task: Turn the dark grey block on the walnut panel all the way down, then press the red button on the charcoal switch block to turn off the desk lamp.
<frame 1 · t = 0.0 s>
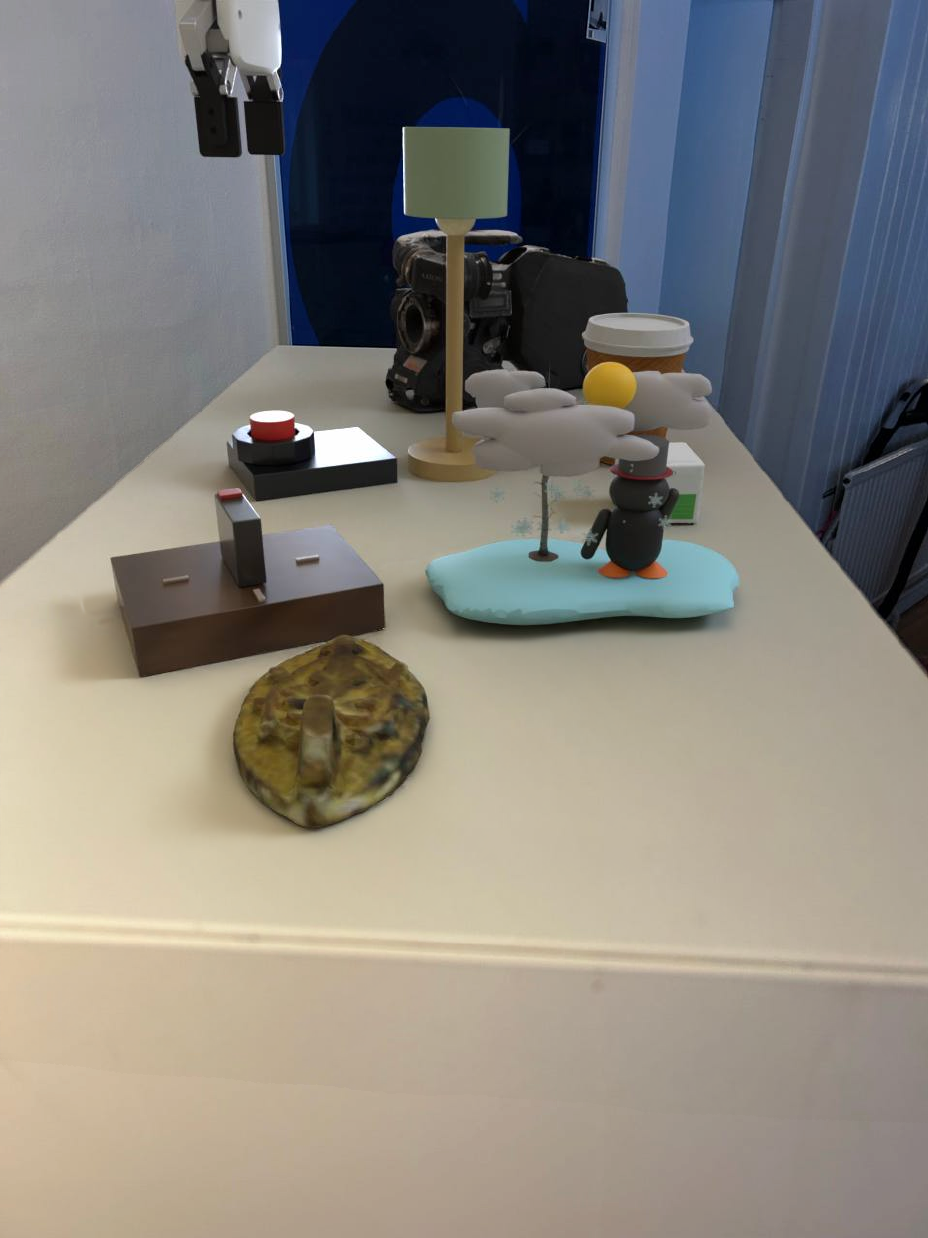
hand: (245, 155, 76), 24 cm above the table, tool pointing down, fingers open, 9 cm apart
disposable coffee cup: (625, 458, 86), on the table
small box: (653, 514, 73), on the table
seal: (334, 734, 46), on the table
movie camera: (499, 398, 105), on the table
penguin figurine: (582, 601, 60), on the table
desk lamp: (453, 467, 82), on the table
dimmer panel: (248, 614, 57), on the table
dark grey block: (239, 535, 54), point 5 cm above the table, hinge at 90.0°
switch block: (311, 474, 80), on the table
lamp switch: (272, 426, 77), point 4 cm above the table, slide at 0.1 cm
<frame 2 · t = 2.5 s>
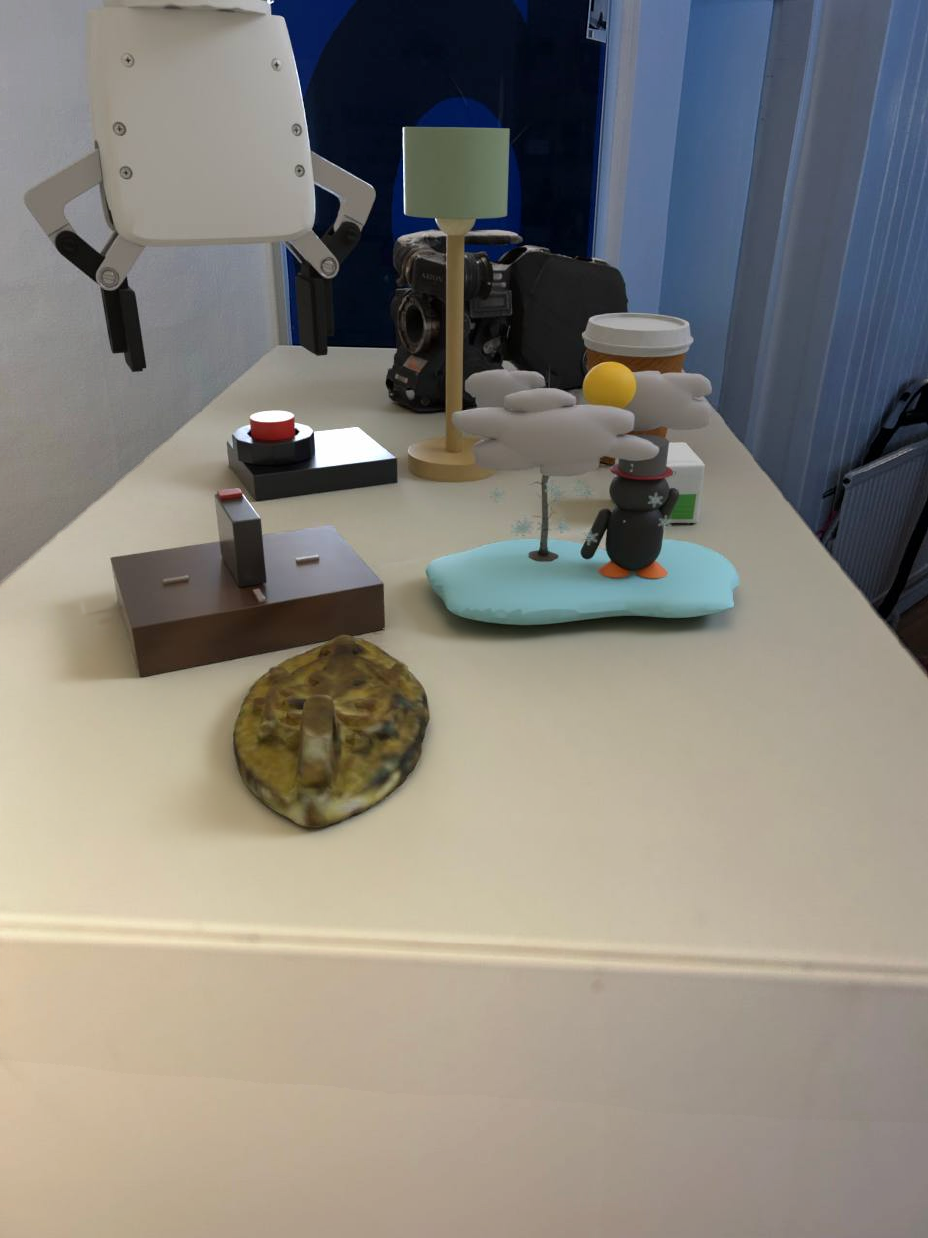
hand: (227, 358, 51), 15 cm above the table, tool pointing down, fingers open, 9 cm apart
nothing on the table moved.
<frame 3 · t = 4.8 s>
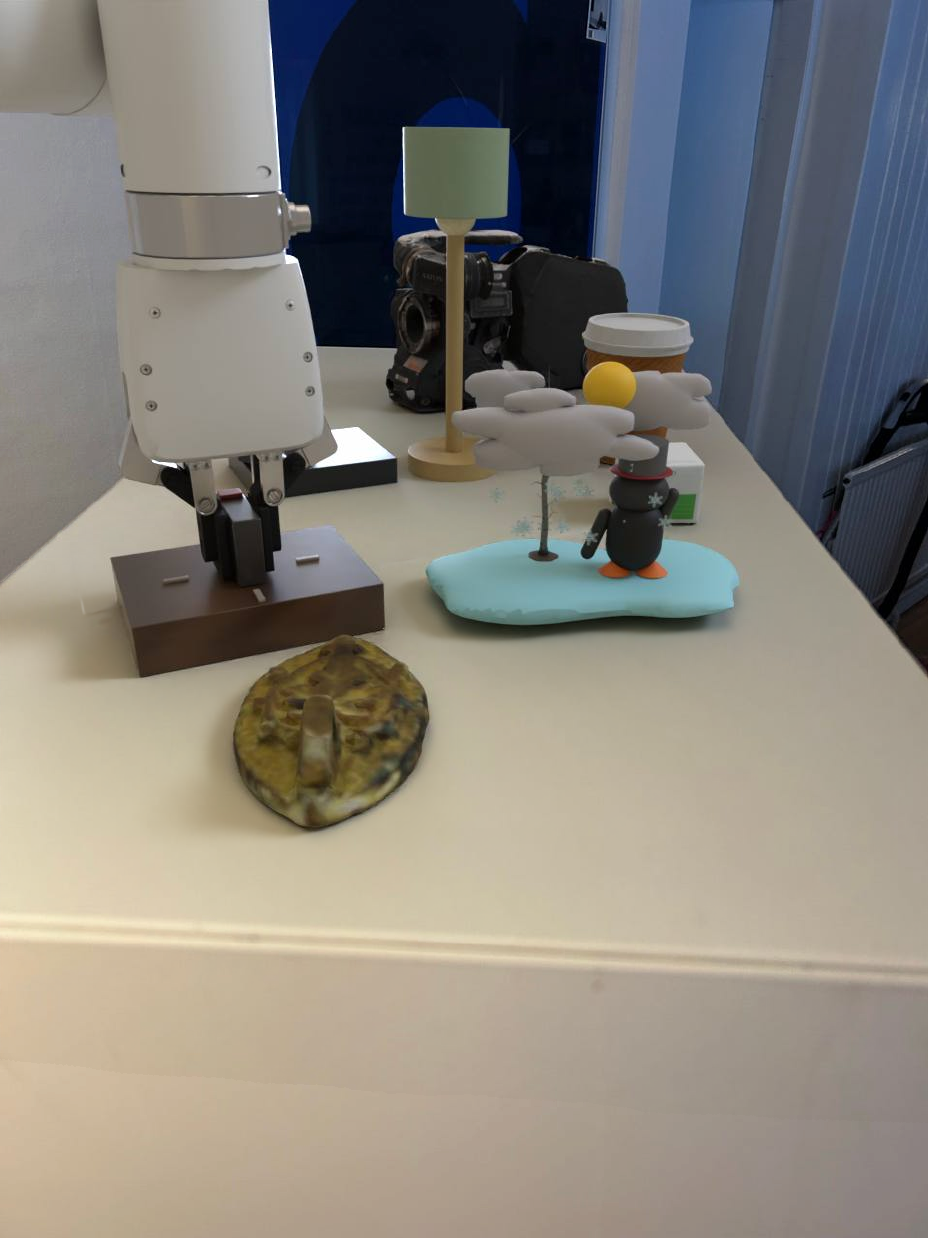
hand: (242, 564, 55), 3 cm above the table, tool pointing down, fingers closed on dark grey block
dark grey block: (239, 535, 54), point 5 cm above the table, hinge at 90.0°, touching gripper
everything else where it was.
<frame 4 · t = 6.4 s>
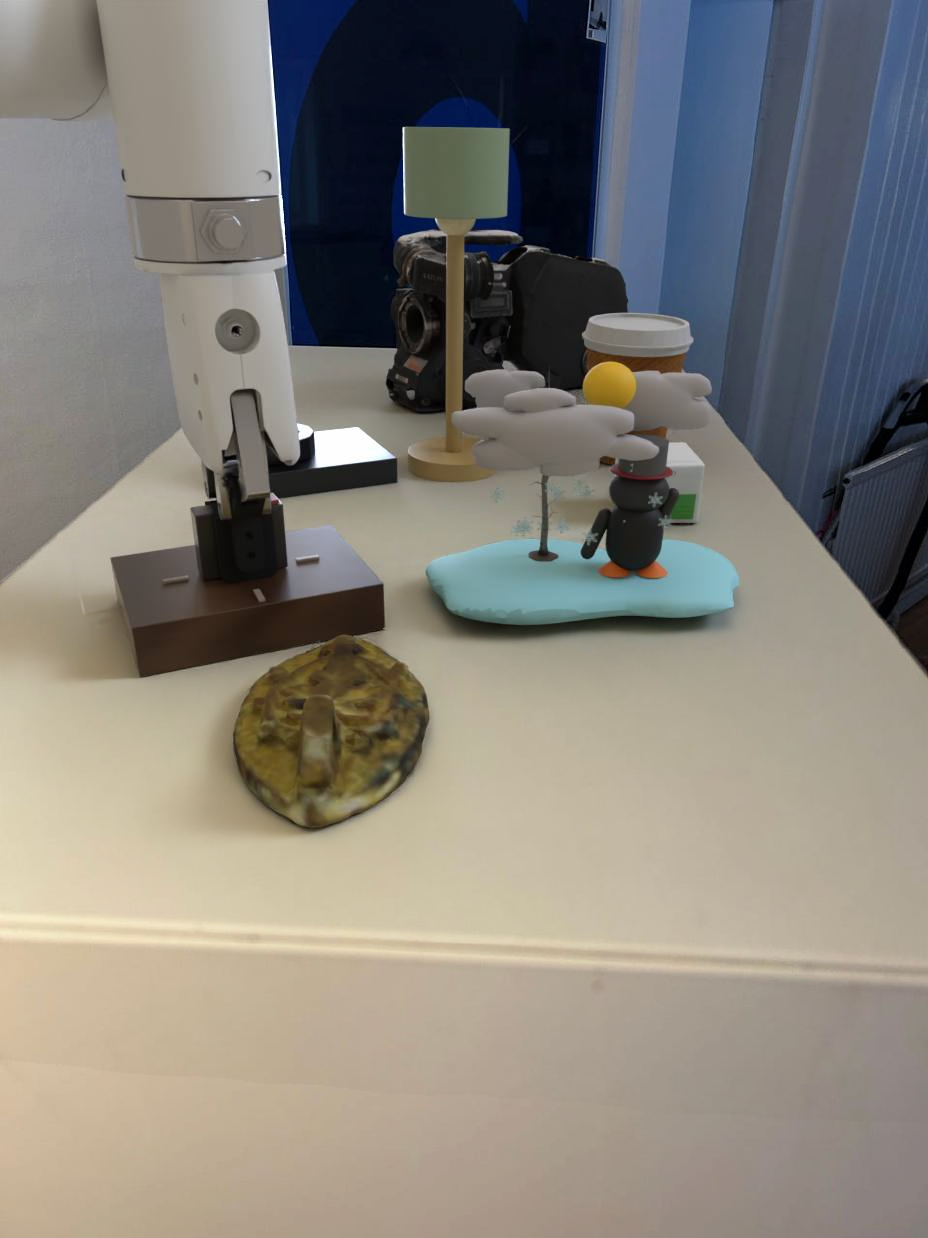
hand: (244, 567, 55), 3 cm above the table, tool pointing down, fingers closed on dimmer panel
dark grey block: (239, 535, 54), point 5 cm above the table, hinge at 0.0°
everything else where it was.
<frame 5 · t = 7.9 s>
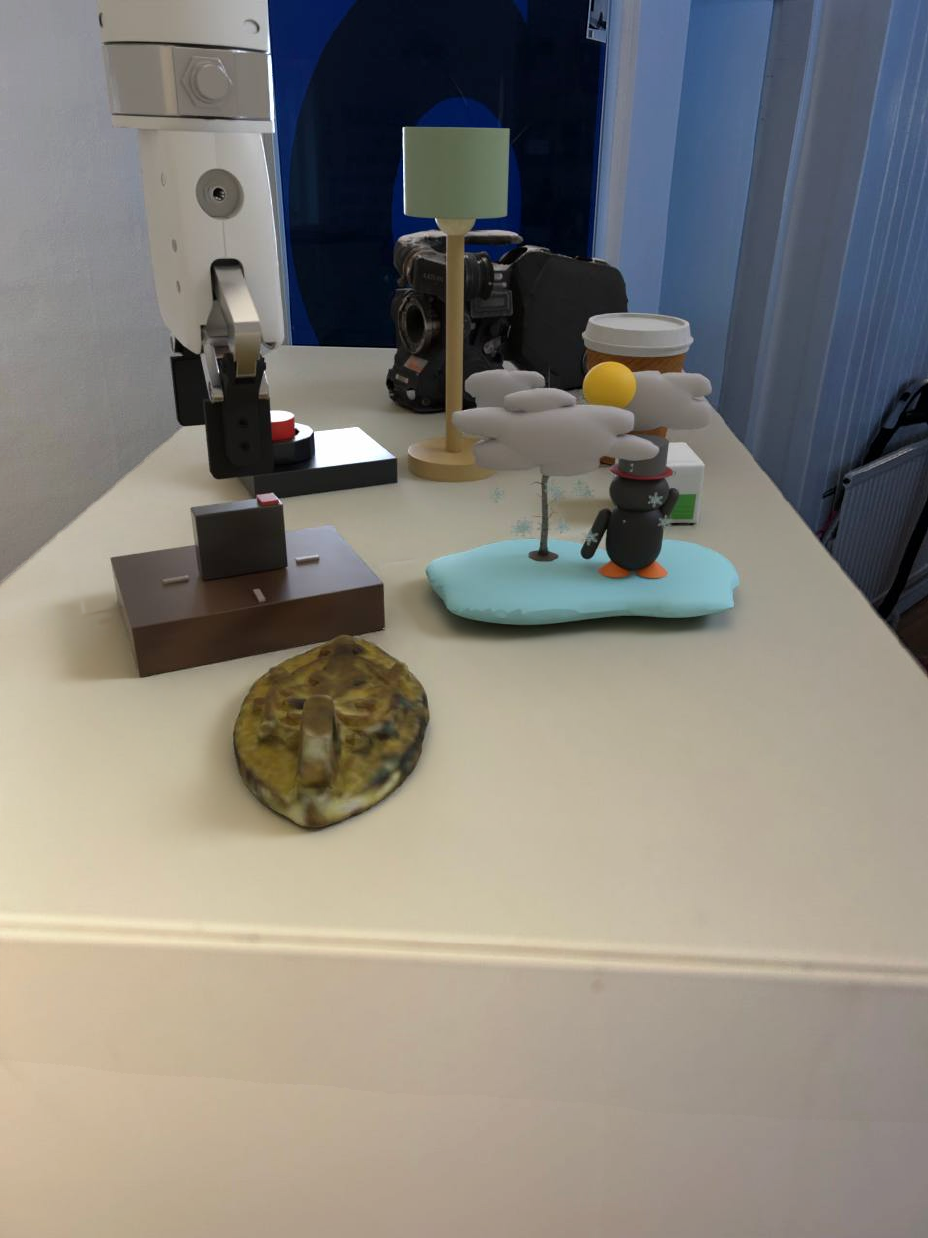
hand: (222, 447, 52), 10 cm above the table, tool pointing down, fingers open, 9 cm apart
nothing on the table moved.
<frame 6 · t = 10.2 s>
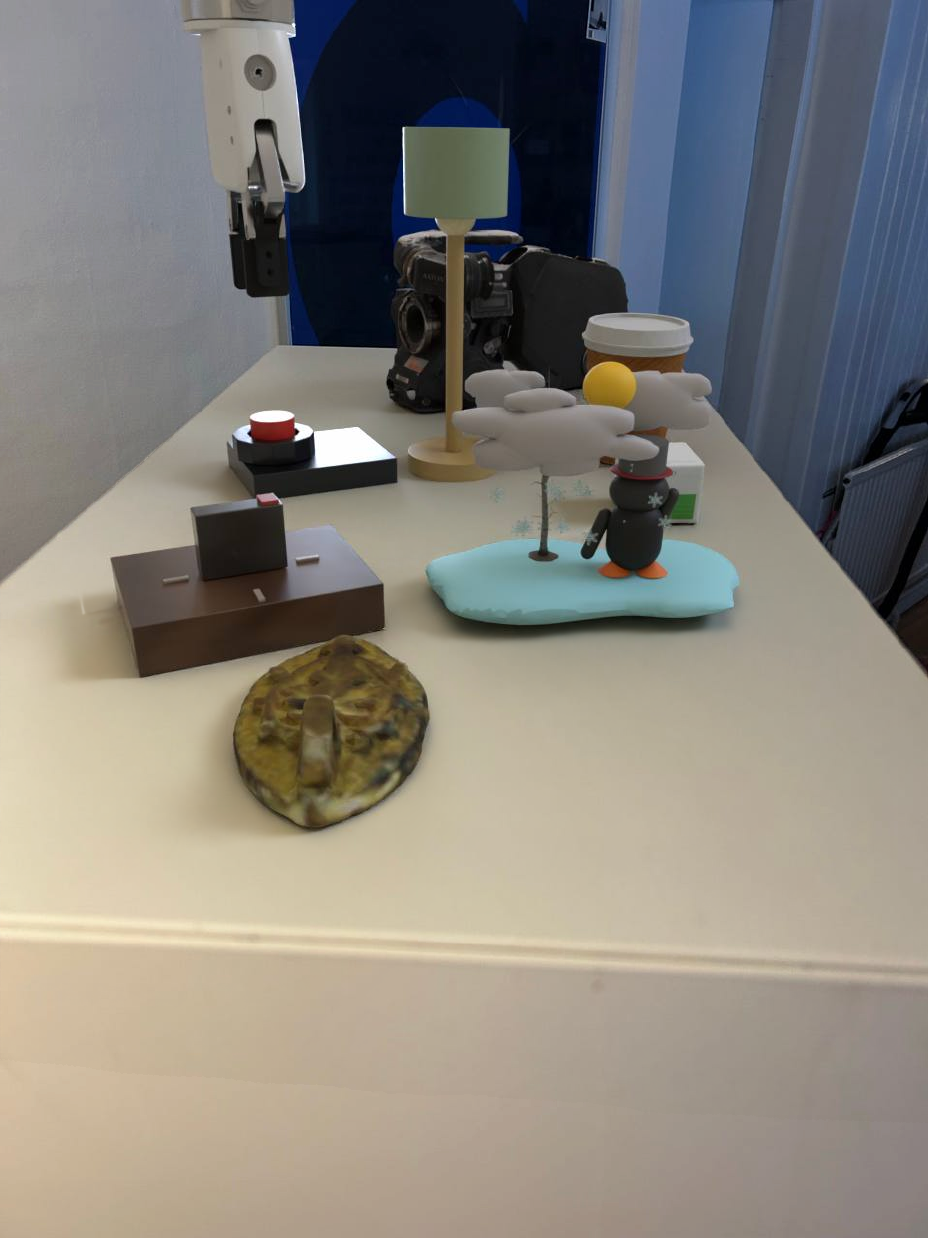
hand: (261, 289, 72), 15 cm above the table, tool pointing down, fingers open, 3 cm apart
nothing on the table moved.
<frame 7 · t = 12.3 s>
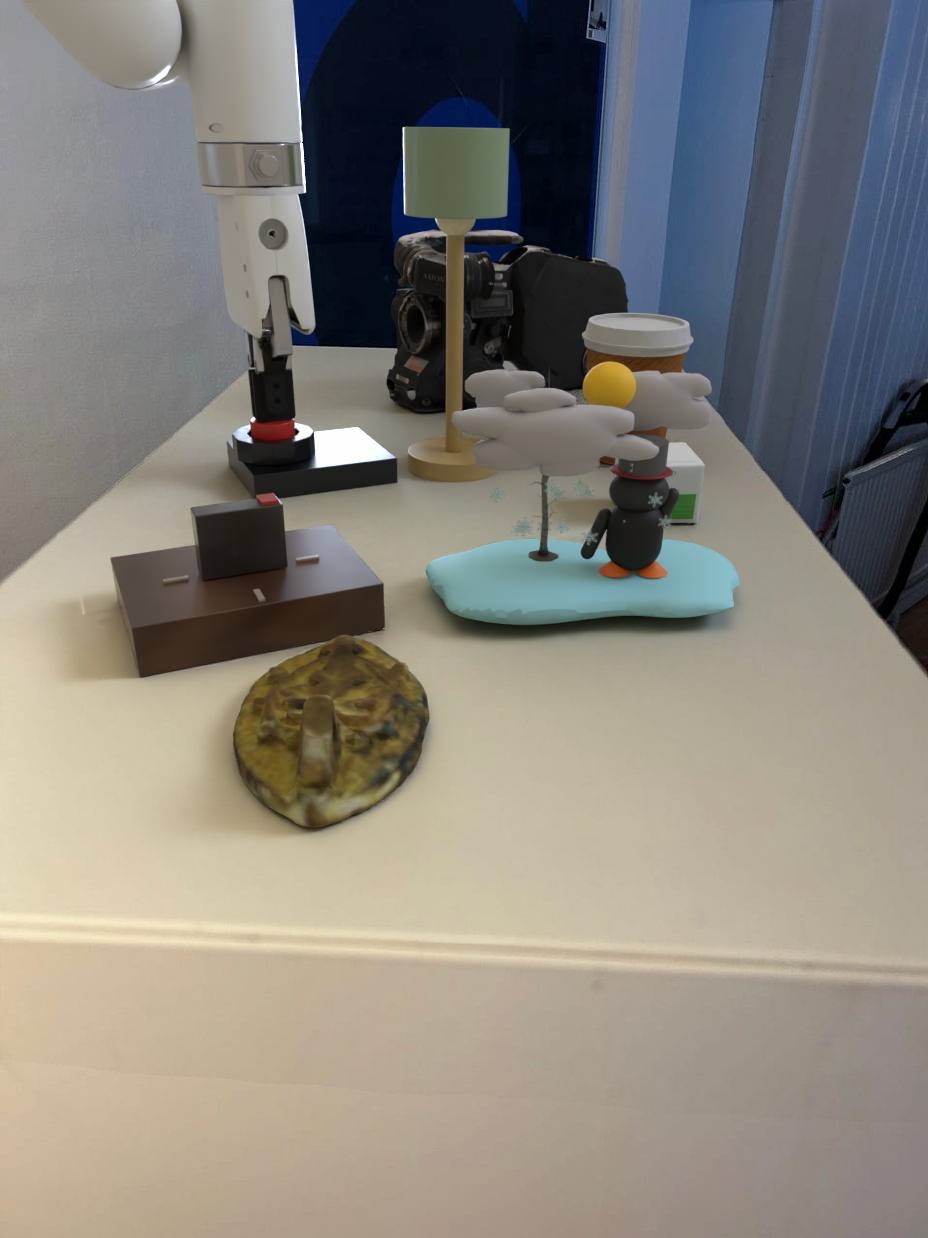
hand: (274, 418, 77), 5 cm above the table, tool pointing down, fingers closed
lamp switch: (273, 429, 77), point 4 cm above the table, slide at -0.1 cm, touching gripper
everything else where it was.
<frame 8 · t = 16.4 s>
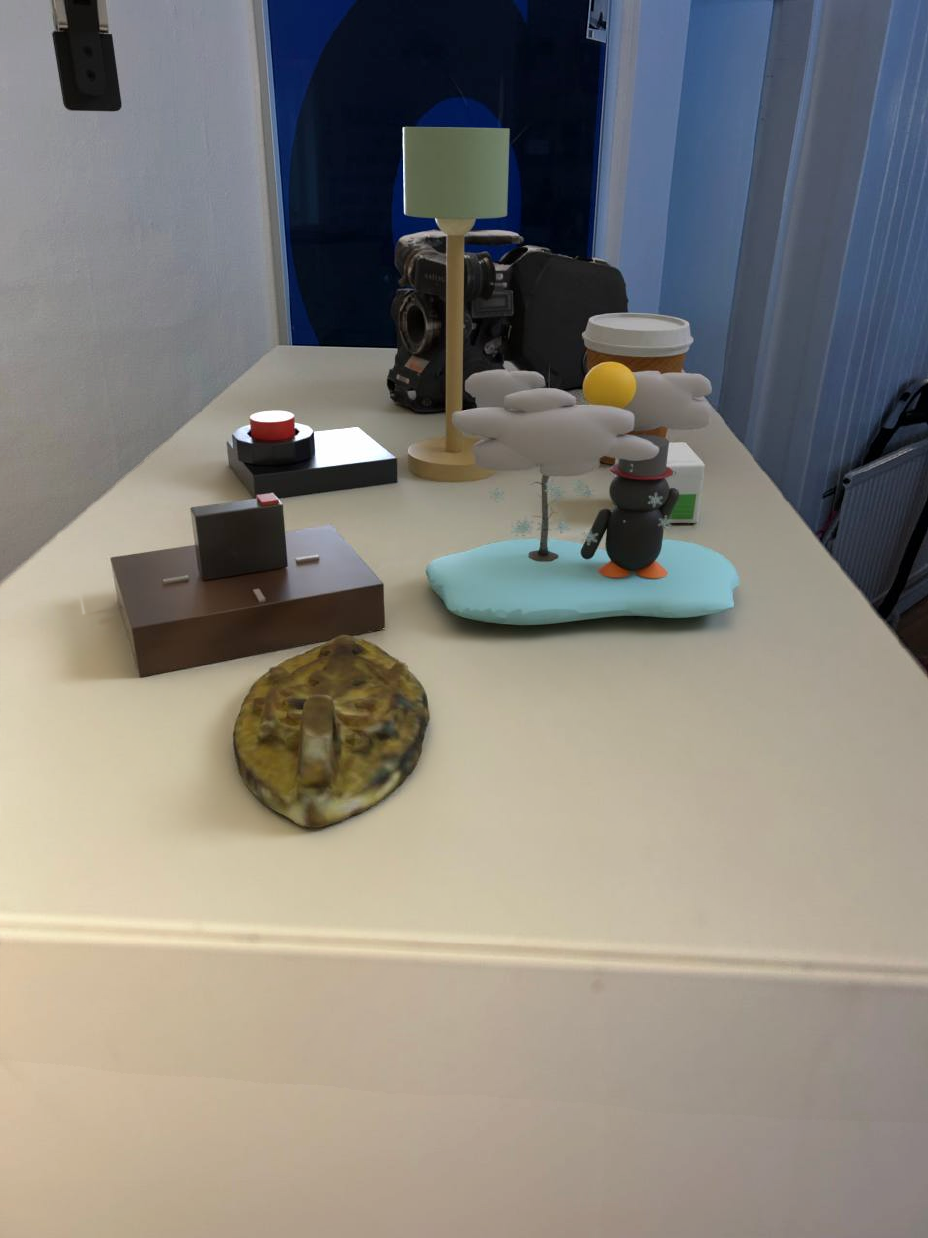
hand: (93, 109, 57), 27 cm above the table, tool pointing down, fingers closed
lamp switch: (272, 426, 77), point 4 cm above the table, slide at 0.1 cm
everything else where it was.
at the end: dark grey block at +0° (first picture: +90°); lamp switch pushed in 1.1 cm at the most during the clip, back to where it started at the end; lamp switch slide at 0.1 cm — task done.
